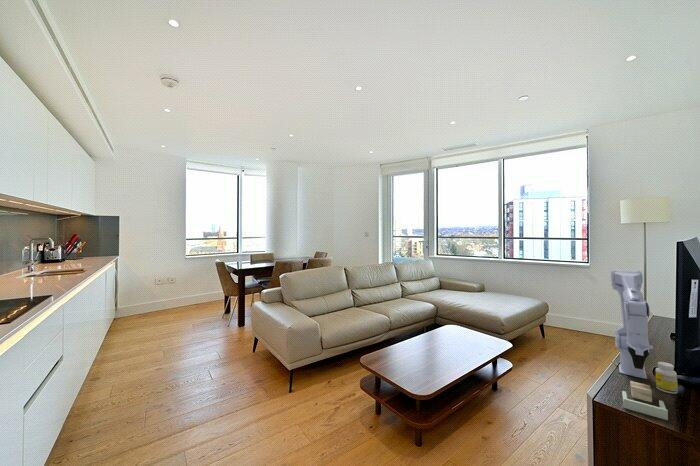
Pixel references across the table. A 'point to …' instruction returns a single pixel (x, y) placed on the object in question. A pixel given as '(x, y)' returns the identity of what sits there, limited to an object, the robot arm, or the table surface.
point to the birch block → (641, 391)
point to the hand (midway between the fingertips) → (638, 368)
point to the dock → (645, 407)
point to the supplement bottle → (666, 378)
